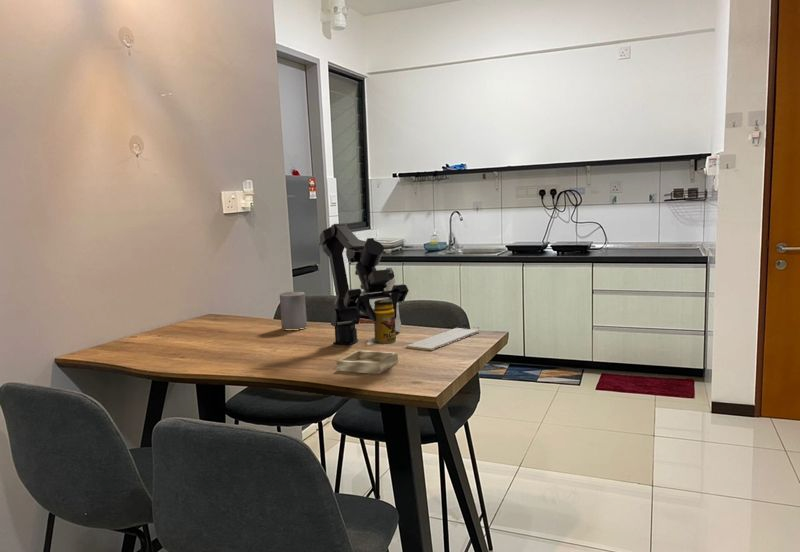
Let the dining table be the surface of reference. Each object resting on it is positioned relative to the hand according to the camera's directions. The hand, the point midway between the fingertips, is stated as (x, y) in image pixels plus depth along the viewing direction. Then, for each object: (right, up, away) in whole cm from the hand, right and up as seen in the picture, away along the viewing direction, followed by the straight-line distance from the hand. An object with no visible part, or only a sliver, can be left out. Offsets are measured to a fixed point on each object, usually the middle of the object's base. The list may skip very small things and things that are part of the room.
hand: (385, 319), depth 168 cm
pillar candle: (-37, -8, +61) cm, 72 cm away
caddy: (-5, -13, +1) cm, 14 cm away
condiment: (-1, -7, +2) cm, 7 cm away
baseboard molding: (+18, -10, +32) cm, 38 cm away
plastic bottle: (+1, -8, +46) cm, 47 cm away
